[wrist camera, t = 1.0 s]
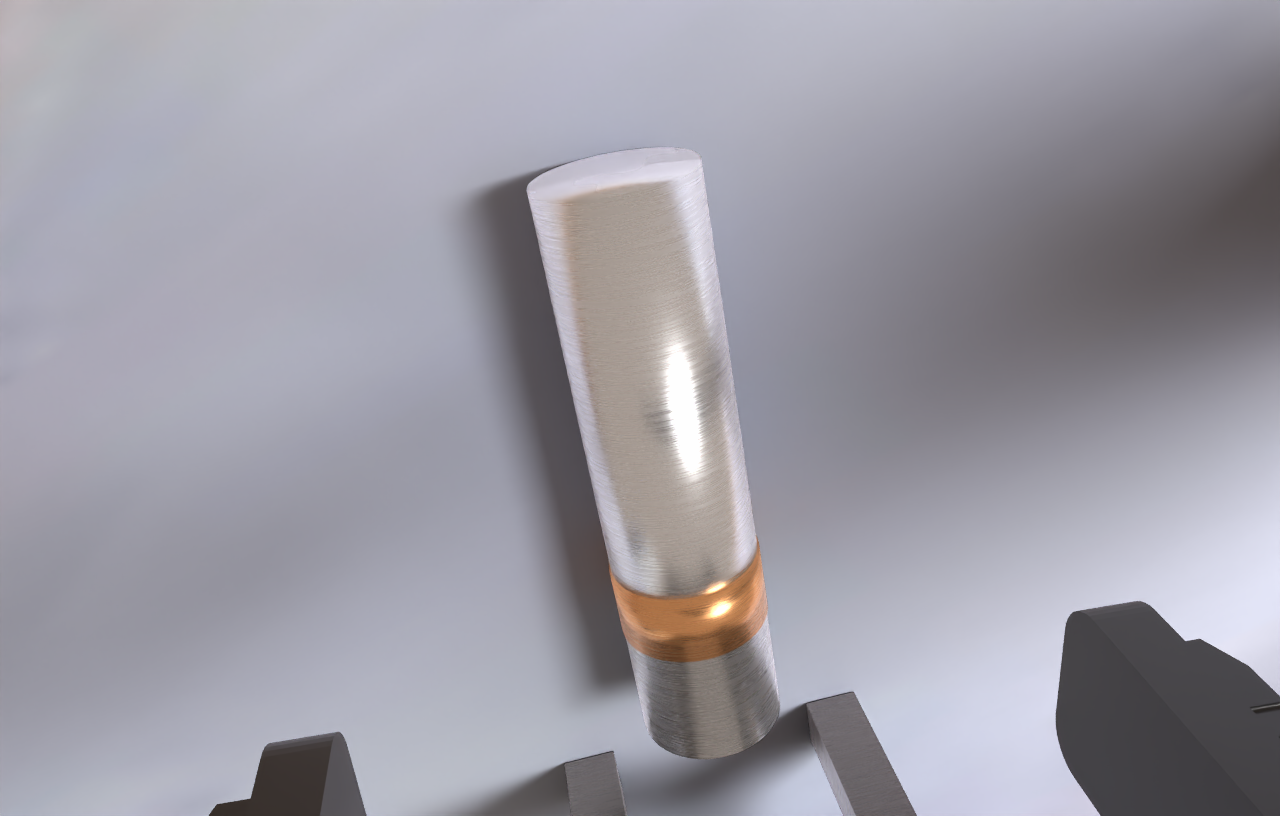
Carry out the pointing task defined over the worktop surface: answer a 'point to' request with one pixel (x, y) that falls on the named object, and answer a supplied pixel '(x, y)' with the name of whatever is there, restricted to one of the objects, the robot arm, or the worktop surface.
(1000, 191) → the worktop surface
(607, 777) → the frame
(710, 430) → the silver cosmetic tube
